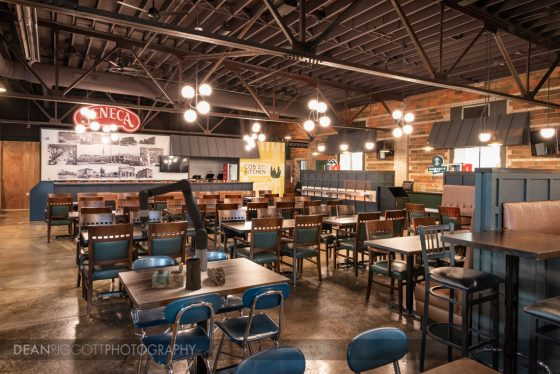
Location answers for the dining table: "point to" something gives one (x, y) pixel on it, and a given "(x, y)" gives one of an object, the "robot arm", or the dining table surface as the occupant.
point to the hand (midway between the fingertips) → (144, 236)
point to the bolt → (179, 268)
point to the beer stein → (193, 274)
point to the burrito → (217, 275)
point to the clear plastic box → (168, 279)
